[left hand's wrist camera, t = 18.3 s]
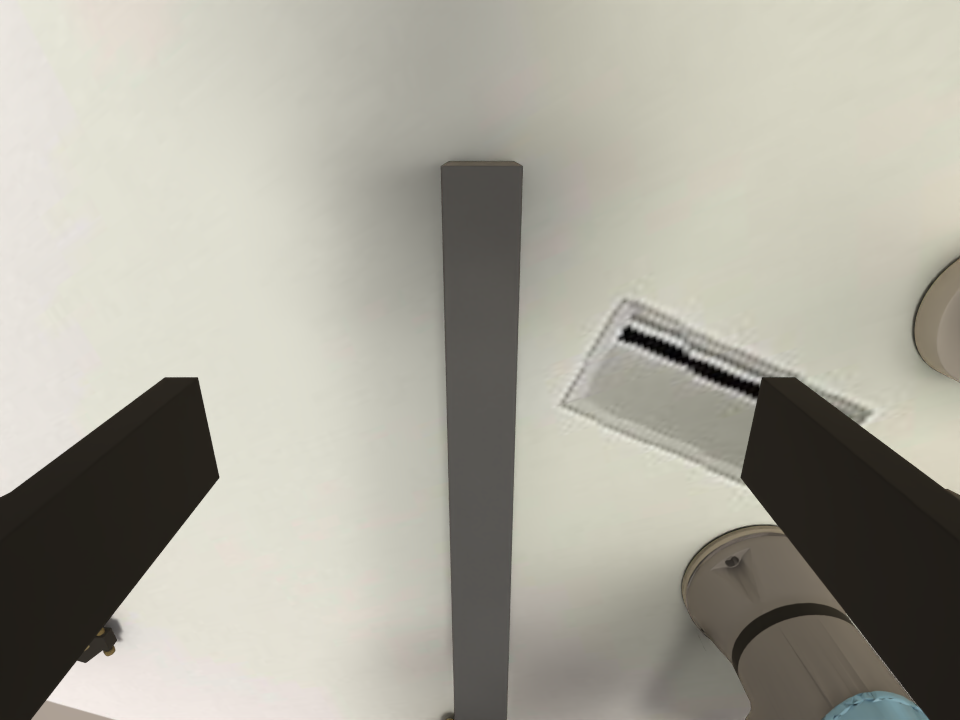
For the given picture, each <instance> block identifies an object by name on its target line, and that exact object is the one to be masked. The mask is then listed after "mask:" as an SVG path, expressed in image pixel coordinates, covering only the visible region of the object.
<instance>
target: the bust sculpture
mask: <svg viewBox="0 0 960 720" xmlns="http://www.w3.org/2000/svg"><path fill="white" fill-rule="evenodd" d="M915 341H916V345H917V348H918V351H919V353H920V355H921V357H922V358H923V359H924V361H925V362H926V363H927V364H928V365H929V366H930V367H932V368H933V369H935V370H936V371H938V372H940V373H942V374H944V375H946V376H948V377H950V378H952V379H954V380H956V381H958V382H960V259H959V260H957V261H956V262H954V263H953V264H952V265H951V266H950V267H948V268H947V269H946V270H945V271H944V272H943V273H942V274H941V275H940V276H939V277H938V278H937V279H936V281H935V282H934V283H933V284H932V286H931V287H930V289H929V290H928V292H927V293H926V295H925V297H924V299H923V301H922V303H921V305H920V307H919V310H918V313H917V317H916V322H915Z"/></svg>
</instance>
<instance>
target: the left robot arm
mask: <svg viewBox="0 0 960 720" xmlns="http://www.w3.org/2000/svg"><path fill="white" fill-rule="evenodd" d="M218 479H219V473H218V469H217V464H216V459H215V455H214V450H213V446H212V441H211V436H210V432H209V427H208V422H207V418H206V413H205V408H204V404H203V399H202V394H201V390H200V385H199V380H198V377H165V378H164V379H162V380H161V381H159V382H158V383H157V384H155V385H154V386H153V387H151V388H150V389H149V390H147V391H146V392H145V393H143V394H142V395H141V396H139V397H138V398H137V399H135V400H134V401H133V402H131V403H130V404H129V405H127V406H126V407H125V408H123V409H122V410H120V411H119V412H118V413H116V414H115V415H114V416H112V417H111V418H110V419H108V420H107V421H106V422H104V423H103V424H102V425H100V426H99V427H98V428H96V429H95V430H94V431H92V432H91V433H90V434H88V435H87V436H86V437H84V438H83V439H82V440H80V441H79V442H77V443H76V444H75V445H73V446H72V447H71V448H69V449H68V450H67V451H65V452H64V453H63V454H61V455H60V456H59V457H57V458H56V459H55V460H53V461H52V462H51V463H49V464H48V465H47V466H45V467H44V468H43V469H41V470H40V471H38V472H37V473H36V474H34V475H33V476H32V477H30V478H29V479H28V480H26V481H25V482H24V483H22V484H21V485H20V486H18V487H17V488H16V489H14V490H13V491H12V492H10V493H8V494H6V495H4V496H2V497H0V720H31V719H32V717H33V716H34V715H35V714H36V712H37V711H38V710H39V709H40V707H41V706H42V705H43V703H44V702H45V701H46V700H47V698H48V697H49V696H50V694H51V693H52V692H53V691H54V689H55V688H56V687H57V685H58V684H59V683H60V682H61V680H62V679H63V678H64V676H65V675H66V674H67V673H68V671H69V670H70V669H71V667H72V666H73V665H74V664H75V662H76V661H77V660H78V659H79V657H80V656H81V655H82V653H83V652H84V651H85V650H86V648H87V647H88V646H89V644H90V643H91V642H92V641H93V639H94V638H95V637H96V635H97V634H98V633H99V632H100V630H101V629H102V628H103V626H104V625H105V624H106V623H107V621H108V620H109V619H110V617H111V616H112V615H113V614H114V612H115V611H116V610H117V608H118V607H119V606H120V605H121V603H122V602H123V601H124V599H125V598H126V597H127V596H128V594H129V593H130V592H131V590H132V589H133V588H134V587H135V585H136V584H137V583H138V581H139V580H140V579H141V578H142V576H143V575H144V574H145V572H146V571H147V570H148V569H149V567H150V566H151V565H152V564H153V562H154V561H155V560H156V558H157V557H158V556H159V555H160V553H161V552H162V551H163V549H164V548H165V547H166V546H167V544H168V543H169V542H170V540H171V539H172V538H173V537H174V535H175V534H176V533H177V531H178V530H179V529H180V528H181V526H182V525H183V524H184V522H185V521H186V520H187V519H188V517H189V516H190V515H191V513H192V512H193V511H194V510H195V508H196V507H197V506H198V504H199V503H200V502H201V501H202V499H203V498H204V497H205V495H206V494H207V493H208V492H209V490H210V489H211V488H212V486H213V485H214V484H215V483H216V481H217V480H218ZM741 479H742V480H743V481H744V483H745V484H746V485H747V486H748V488H749V489H750V490H751V492H752V493H753V494H754V495H755V497H756V498H757V499H758V501H759V502H760V503H761V504H762V506H763V507H764V508H765V510H766V511H767V512H768V513H769V515H770V516H771V517H772V519H773V520H774V521H775V522H776V524H777V525H778V526H779V528H780V529H781V530H782V531H783V533H784V534H785V535H786V537H787V538H788V539H789V540H790V542H791V543H792V544H793V546H794V547H795V548H796V549H797V551H798V552H799V553H800V555H801V556H802V557H803V558H804V560H805V561H806V562H807V564H808V565H809V566H810V567H811V569H812V570H813V571H814V572H815V574H816V575H817V576H818V578H819V579H820V580H821V581H822V583H823V584H824V585H825V587H826V588H827V589H828V590H829V592H830V593H831V594H832V596H833V597H834V598H835V599H836V601H837V602H838V603H839V605H840V606H841V607H842V608H843V610H844V611H845V612H846V614H847V615H848V616H849V617H850V619H851V620H852V621H853V623H854V624H855V625H856V626H857V628H858V629H859V630H860V632H861V633H862V634H863V635H864V637H865V638H866V639H867V641H868V642H869V643H870V644H871V646H872V647H873V648H874V650H875V651H876V652H877V653H878V655H879V656H880V657H881V659H882V660H883V661H884V662H885V664H886V665H887V666H888V667H889V669H890V670H891V671H892V673H893V674H894V675H895V676H896V678H897V679H898V680H899V682H900V683H901V684H902V685H903V687H904V688H905V689H906V691H907V692H908V693H909V694H910V696H911V697H912V698H913V700H914V701H915V702H916V703H917V705H918V706H919V707H920V709H921V710H922V711H923V712H924V714H925V715H926V716H927V718H928V719H929V720H960V495H959V494H957V493H955V492H953V491H951V490H949V489H944V488H943V487H942V486H940V485H939V484H938V483H936V482H935V481H934V480H932V479H931V478H930V477H928V476H927V475H926V474H924V473H923V472H922V471H920V470H919V469H917V468H916V467H915V466H913V465H912V464H911V463H909V462H908V461H907V460H905V459H904V458H903V457H901V456H900V455H899V454H897V453H896V452H895V451H893V450H892V449H891V448H889V447H888V446H887V445H885V444H884V443H883V442H881V441H880V440H878V439H877V438H876V437H874V436H873V435H872V434H870V433H869V432H868V431H866V430H865V429H864V428H862V427H861V426H860V425H858V424H857V423H856V422H854V421H853V420H852V419H850V418H849V417H848V416H846V415H845V414H844V413H842V412H841V411H840V410H838V409H837V408H835V407H834V406H833V405H831V404H830V403H829V402H827V401H826V400H825V399H823V398H822V397H821V396H819V395H818V394H817V393H815V392H814V391H813V390H811V389H810V388H809V387H807V386H806V385H805V384H803V383H802V382H801V381H799V380H798V379H796V378H795V377H762V380H761V385H760V390H759V394H758V399H757V404H756V408H755V413H754V418H753V422H752V427H751V432H750V436H749V441H748V446H747V450H746V455H745V459H744V464H743V469H742V473H741Z"/></svg>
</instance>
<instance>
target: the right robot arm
mask: <svg viewBox="0 0 960 720" xmlns="http://www.w3.org/2000/svg"><path fill="white" fill-rule="evenodd" d="M682 596H683V600H684V603H685V605H686V608H687V610H688V612H689V614H690V617H691V618H692V620H693V622H694V623H695V624H696V626H697V627H698V628H699V629H700V630H701V631H702V632H703V633H704V634H705V635H706V636H707V637H708V638H709V639H711V640H712V641H713V643H714V644H715V645H716V646H717V647H718V648H719V650H720V651H721V652H722V653H723V654H724V655H725V656H726V657H727V659H728V660H729V661H730V662H731V663H732V665H733V667H734V669H735V671H736V673H737V675H738V677H739V679H740V681H741V683H742V685H743V688H744V690H745V692H746V694H747V696H748V698H749V700H750V702H751V711H750V713H749V714H748V716H747V717H746V719H745V720H929V719H928V718H927V716H926V715H925V714H924V712H923V711H922V710H921V709H920V708H919V707H918V706H917V705H916V704H915V703H914V702H913V701H912V699H911V698H910V697H909V695H908V694H907V693H906V692H905V690H904V689H903V688H902V686H901V685H900V684H899V683H898V681H897V680H896V679H895V677H894V676H893V675H892V674H891V672H890V671H889V670H888V668H887V667H886V666H885V664H884V663H883V662H882V661H881V659H880V658H879V657H878V655H877V654H876V653H875V652H874V650H873V649H872V648H871V646H870V645H869V644H868V643H867V641H866V640H865V639H864V637H863V636H862V635H861V634H860V632H859V631H858V630H857V629H856V627H855V626H854V625H853V623H852V622H851V621H850V619H849V618H848V617H847V615H846V613H845V611H844V610H843V608H842V607H841V606H840V605H839V603H838V602H837V601H836V599H835V598H834V597H833V596H832V594H831V593H830V592H829V590H828V589H827V588H826V587H825V585H824V584H823V583H822V581H821V580H820V579H819V578H818V576H817V575H816V574H815V572H814V571H813V570H812V569H811V567H810V566H809V565H808V564H807V562H806V561H805V560H804V558H803V557H802V556H801V555H800V553H799V552H798V551H797V549H796V548H795V547H794V546H793V544H792V543H791V542H790V540H789V539H788V538H787V537H786V535H785V534H784V533H783V531H782V530H781V529H780V528H779V527H777V526H753V527H747V528H743V529H739V530H736V531H733V532H730V533H728V534H725V535H723V536H721V537H719V538H717V539H716V540H714V541H713V542H711V543H710V544H708V545H707V546H706V547H704V548H703V549H702V550H701V551H700V552H699V553H698V554H697V555H696V556H695V557H694V559H693V560H692V561H691V563H690V564H689V566H688V568H687V570H686V572H685V575H684V578H683V582H682ZM699 638H700V637H699ZM704 649H705V648H704Z"/></svg>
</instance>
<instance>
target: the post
mask: <svg viewBox="0 0 960 720" xmlns="http://www.w3.org/2000/svg"><path fill="white" fill-rule="evenodd" d="M522 176H523V166H521V165H520V164H518V163H516V162H514V161H449V162H447V163H445V164H444V165H442V166H441V192H442V232H443V272H444V312H445V352H446V393H447V433H448V473H449V513H450V553H451V593H452V633H453V673H454V713H455V720H507V694H508V660H509V625H510V590H511V556H512V521H513V487H514V452H515V418H516V383H517V349H518V314H519V279H520V245H521V210H522Z"/></svg>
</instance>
